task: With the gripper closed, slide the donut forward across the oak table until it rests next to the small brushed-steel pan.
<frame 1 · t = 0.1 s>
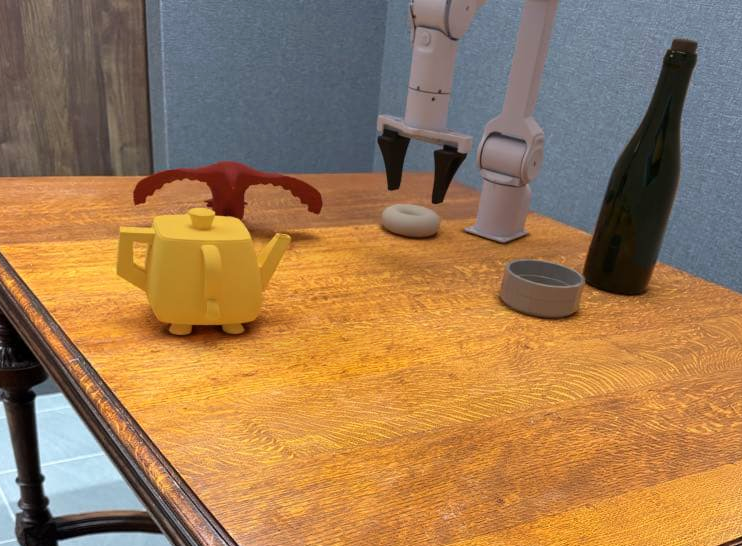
hand: (415, 196, 116), 10 cm above the table, tool pointing down, fingers open, 7 cm apart
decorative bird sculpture: (228, 231, 127), on the table
wine bottle: (613, 284, 127), on the table
pan: (537, 303, 116), on the table
donut: (409, 231, 138), on the table
teapot: (204, 316, 99), on the table
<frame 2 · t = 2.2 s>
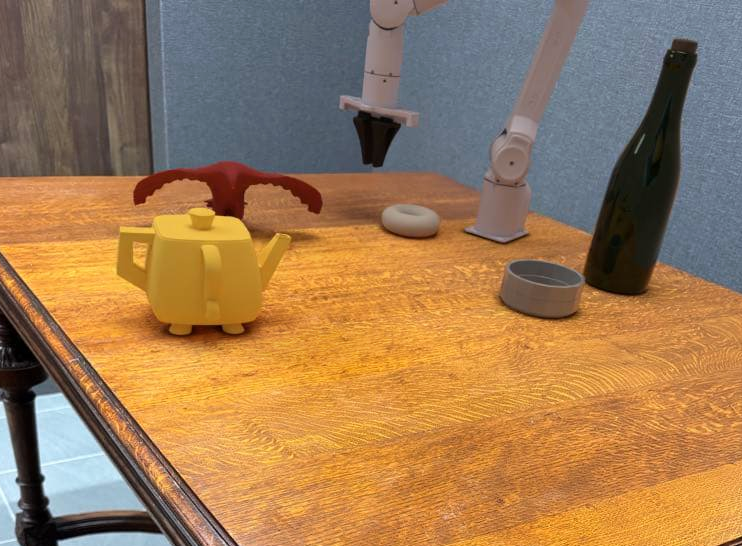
hand: (372, 165, 136), 8 cm above the table, tool pointing down, fingers closed
nothing on the table moved.
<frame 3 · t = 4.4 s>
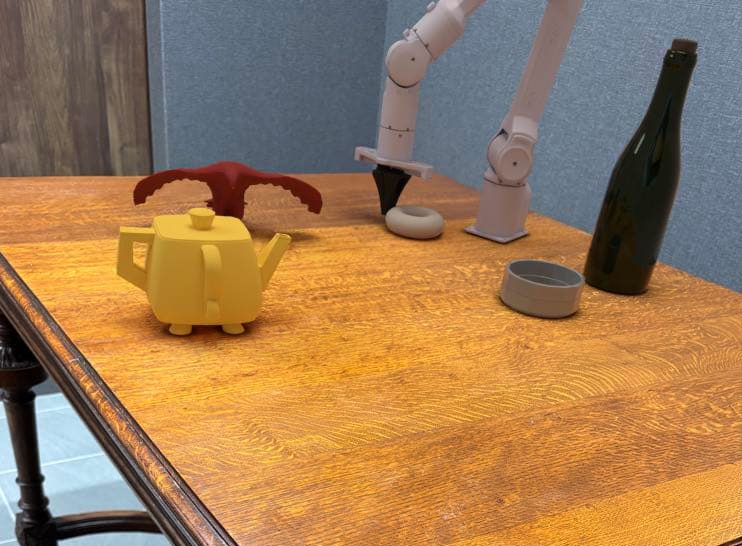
hand: (387, 214, 139), 1 cm above the table, tool pointing down, fingers closed
donut: (413, 233, 137), on the table, touching gripper
everything else where it was.
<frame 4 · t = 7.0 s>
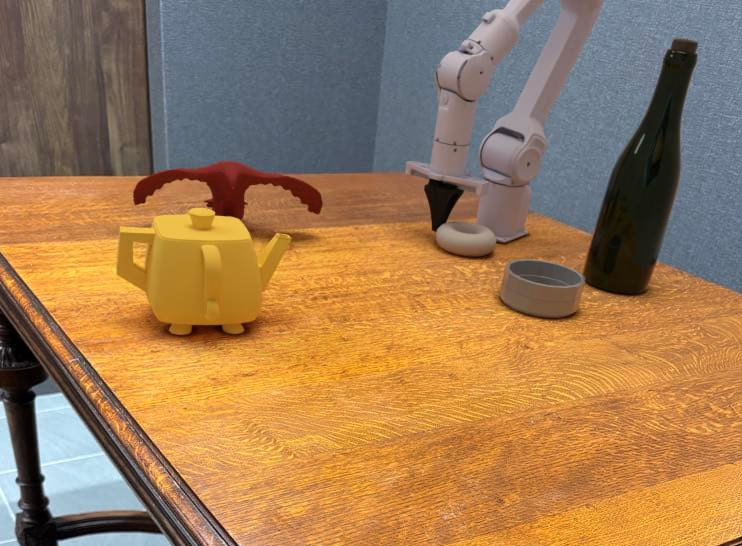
hand: (437, 230, 134), 1 cm above the table, tool pointing down, fingers closed
donut: (463, 250, 133), on the table, touching gripper
everything else where it was.
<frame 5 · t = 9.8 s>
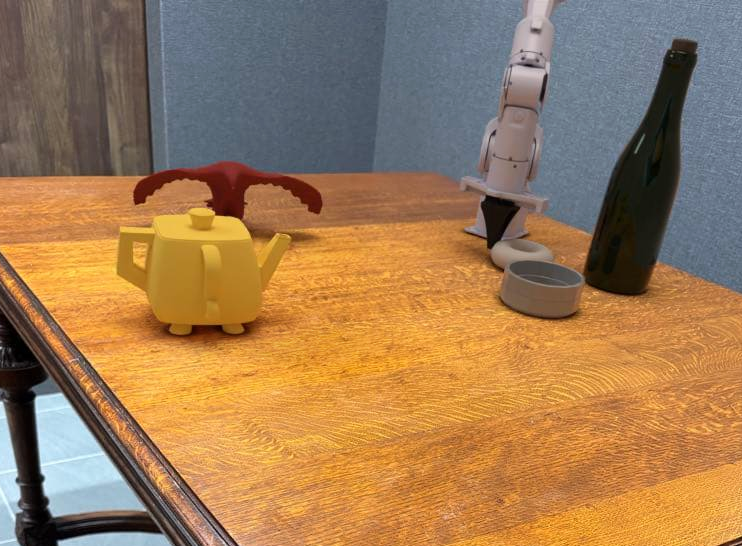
hand: (492, 248, 130), 1 cm above the table, tool pointing down, fingers closed
donut: (519, 268, 128), on the table, touching gripper
everything else where it was.
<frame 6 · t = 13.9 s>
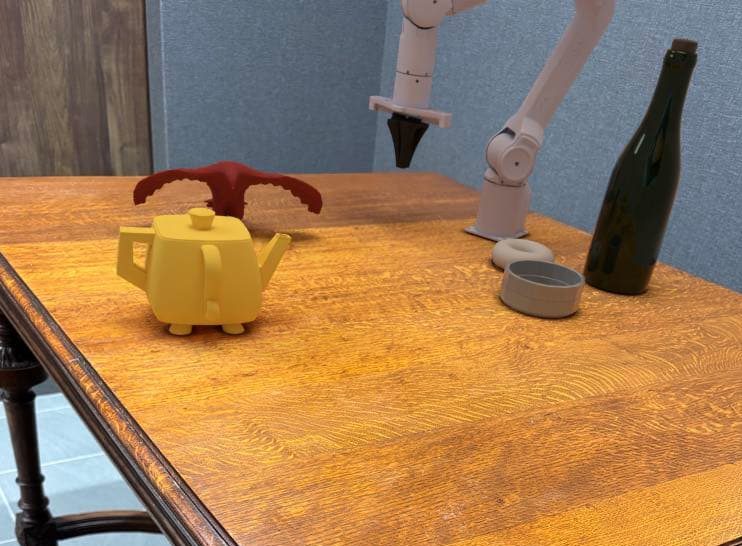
hand: (402, 167, 133), 9 cm above the table, tool pointing down, fingers closed
donut: (520, 268, 128), on the table
everything else where it was.
at the end: donut 15.7 cm from the pan (horizontally); donut moved 21.6 cm from its start; donut tilted 0° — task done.
